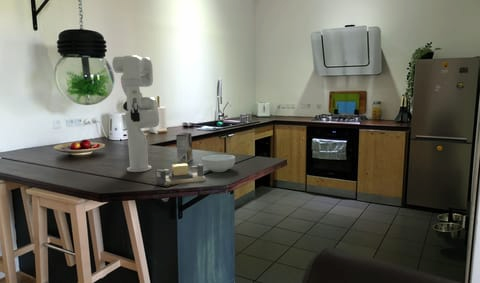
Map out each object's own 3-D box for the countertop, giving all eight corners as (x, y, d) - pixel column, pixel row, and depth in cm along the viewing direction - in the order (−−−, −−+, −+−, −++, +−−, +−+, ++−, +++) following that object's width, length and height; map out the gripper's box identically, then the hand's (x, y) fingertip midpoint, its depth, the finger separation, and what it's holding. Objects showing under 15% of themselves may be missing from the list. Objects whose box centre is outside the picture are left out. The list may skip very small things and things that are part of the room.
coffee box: (182, 159, 217) (181, 132, 215) (193, 159, 216) (191, 132, 213) (177, 162, 208) (175, 134, 206) (187, 162, 207) (186, 134, 205)
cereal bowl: (238, 167, 193) (238, 154, 192) (230, 175, 177) (230, 160, 176) (208, 166, 197) (207, 153, 196) (198, 173, 181) (197, 160, 180)
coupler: (171, 177, 171) (170, 164, 170) (188, 175, 174) (187, 163, 173) (172, 179, 167) (172, 166, 166) (190, 177, 170) (189, 165, 169)
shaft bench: (154, 179, 172) (153, 166, 171) (199, 174, 180) (198, 162, 179) (158, 186, 161) (157, 172, 160) (205, 180, 169) (205, 167, 168)
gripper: (143, 83, 159) (145, 121, 161) (139, 83, 175) (141, 118, 177) (125, 83, 156) (128, 122, 159) (123, 83, 172) (125, 119, 175)
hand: (135, 120), depth 168 cm, fingers open, 9 cm apart
